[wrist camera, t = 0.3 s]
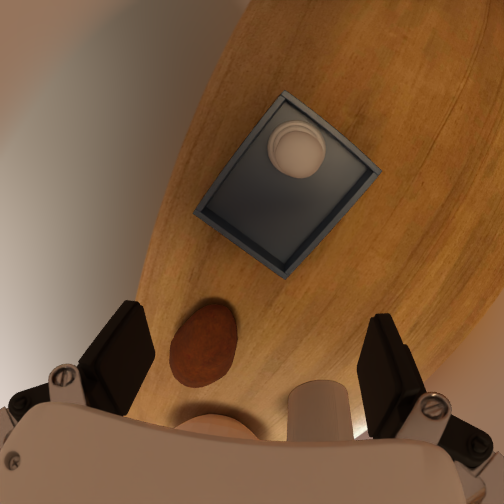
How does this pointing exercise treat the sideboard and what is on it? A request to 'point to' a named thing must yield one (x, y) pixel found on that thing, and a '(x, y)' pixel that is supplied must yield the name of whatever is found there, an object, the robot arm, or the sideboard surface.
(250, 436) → the white vase
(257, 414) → the sideboard surface
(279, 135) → the chess piece
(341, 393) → the cup
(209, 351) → the potato
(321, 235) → the tray
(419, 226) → the sideboard surface
